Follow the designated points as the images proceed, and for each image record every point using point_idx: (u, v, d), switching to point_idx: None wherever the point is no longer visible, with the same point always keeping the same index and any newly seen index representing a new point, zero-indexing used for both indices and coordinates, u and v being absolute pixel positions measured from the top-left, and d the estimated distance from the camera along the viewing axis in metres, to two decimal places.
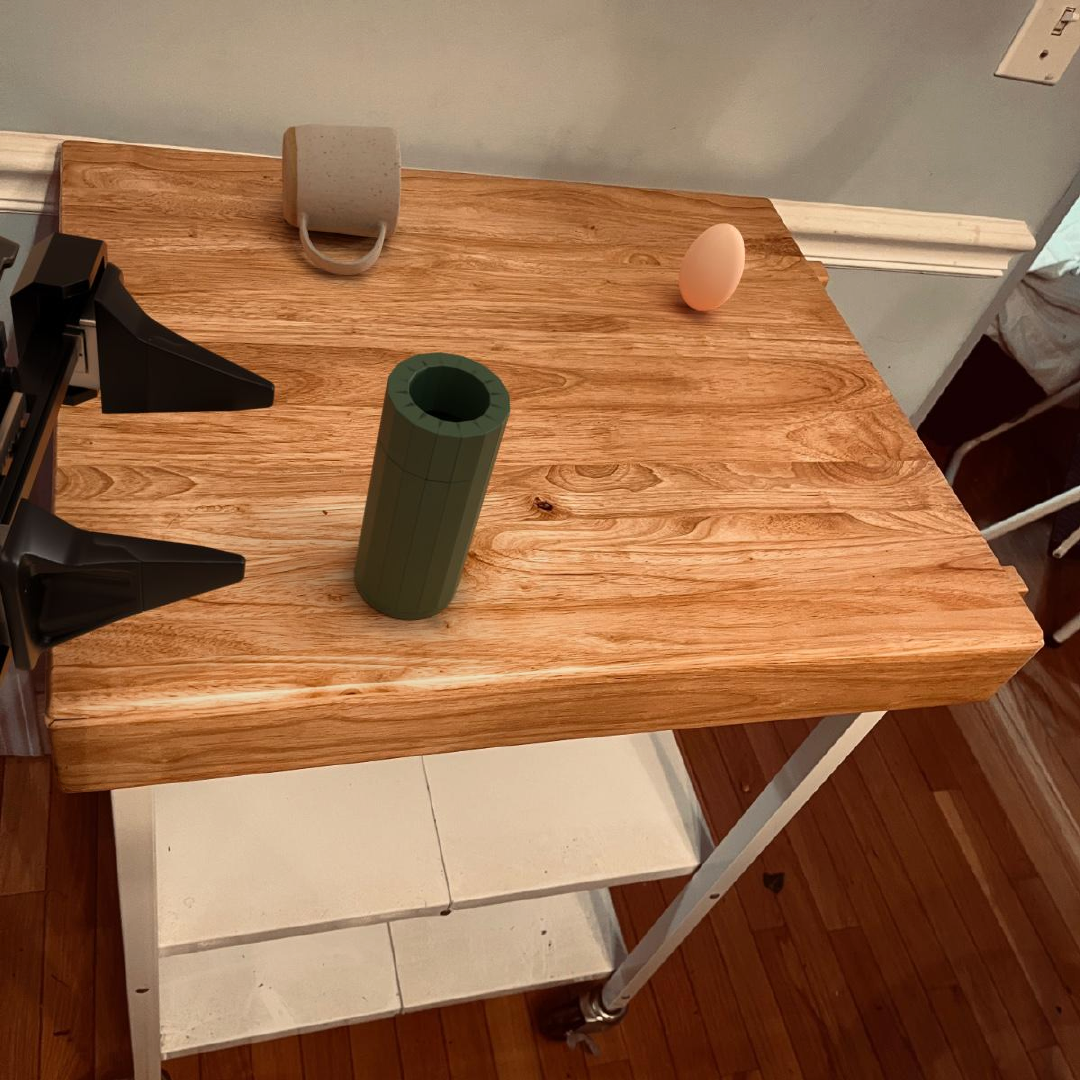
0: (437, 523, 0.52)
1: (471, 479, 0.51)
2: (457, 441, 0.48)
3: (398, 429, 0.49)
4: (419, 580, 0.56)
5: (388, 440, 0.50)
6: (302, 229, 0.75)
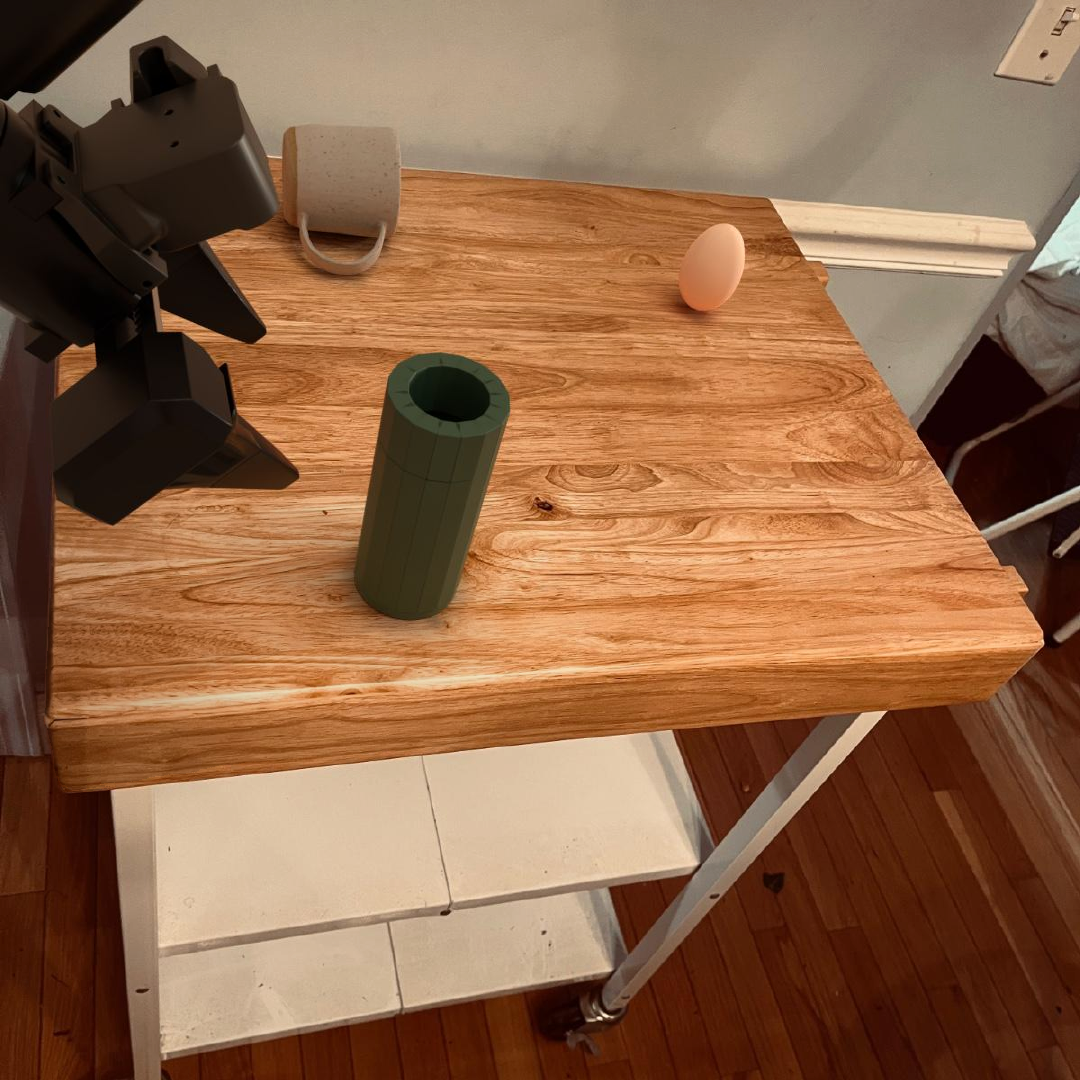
0: (437, 523, 0.52)
1: (471, 479, 0.51)
2: (457, 441, 0.48)
3: (398, 429, 0.49)
4: (419, 580, 0.56)
5: (388, 440, 0.50)
6: (302, 229, 0.75)
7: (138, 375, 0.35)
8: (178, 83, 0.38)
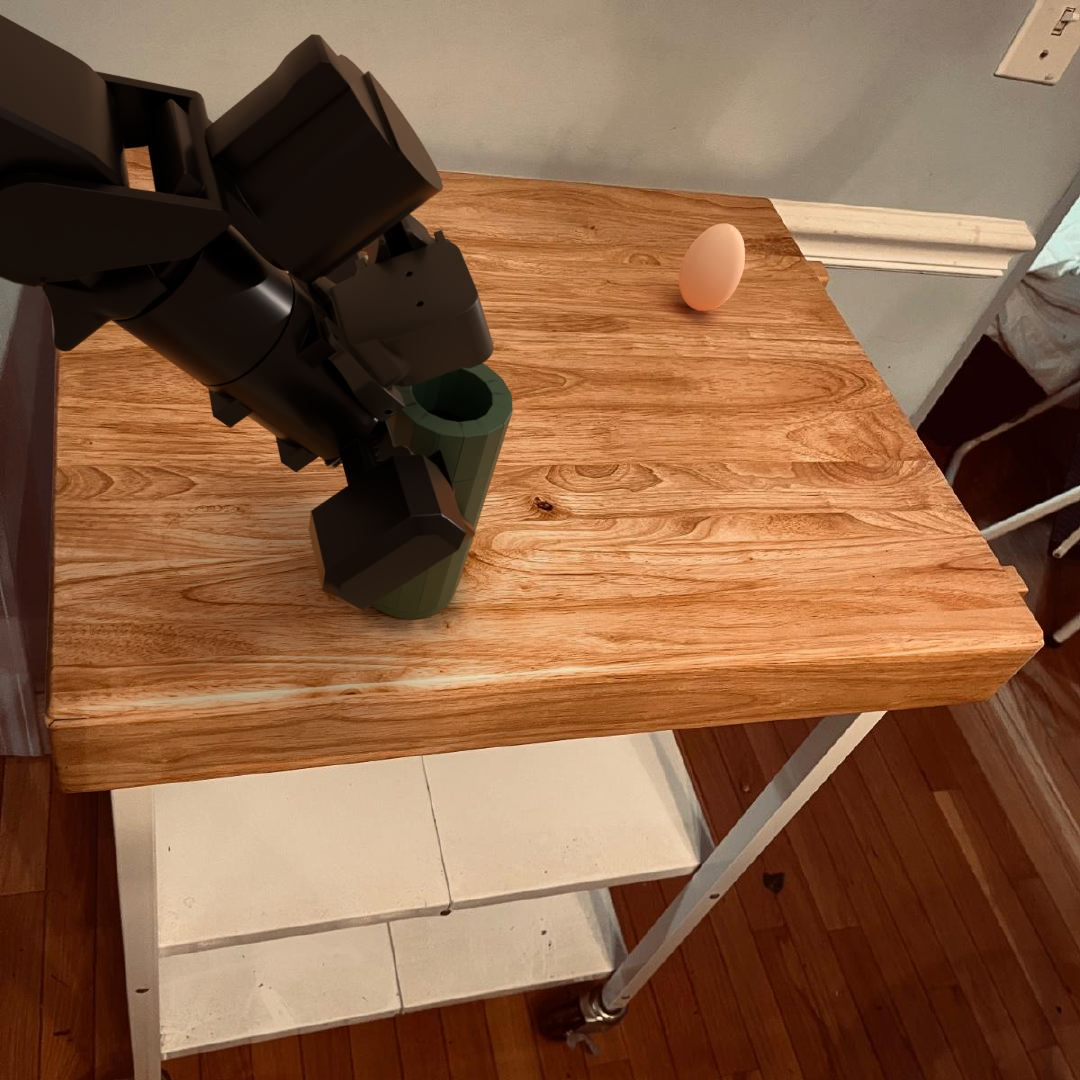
0: None
1: (473, 479, 0.51)
2: (460, 441, 0.48)
3: (400, 428, 0.49)
4: (420, 580, 0.56)
5: None
6: None
7: (396, 493, 0.43)
8: (412, 247, 0.46)
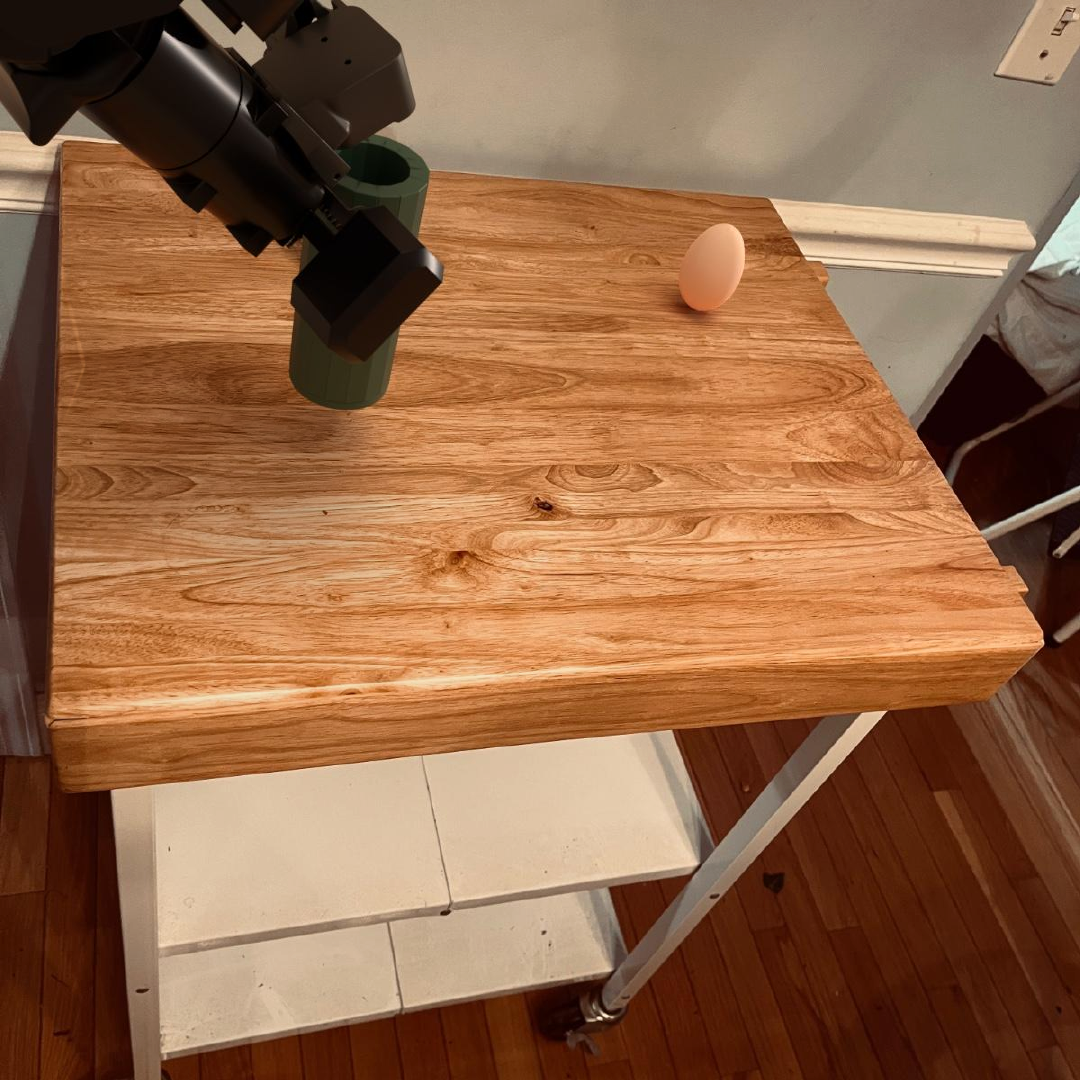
0: None
1: None
2: (397, 201, 0.52)
3: None
4: (366, 363, 0.59)
5: (326, 218, 0.53)
6: None
7: (377, 239, 0.46)
8: (317, 16, 0.48)
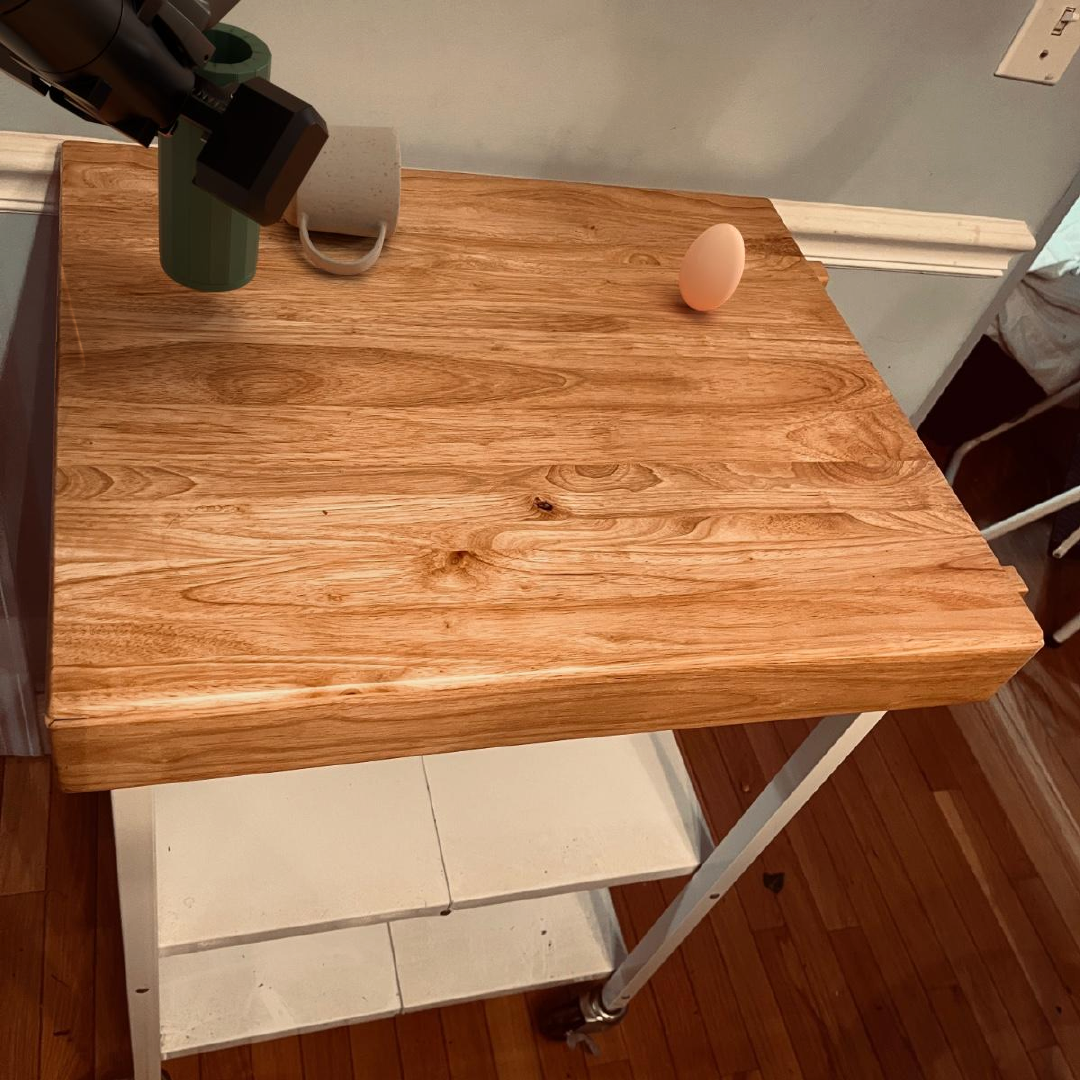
0: None
1: None
2: (253, 75, 0.57)
3: None
4: (242, 240, 0.64)
5: None
6: (302, 229, 0.75)
7: (268, 105, 0.52)
8: None
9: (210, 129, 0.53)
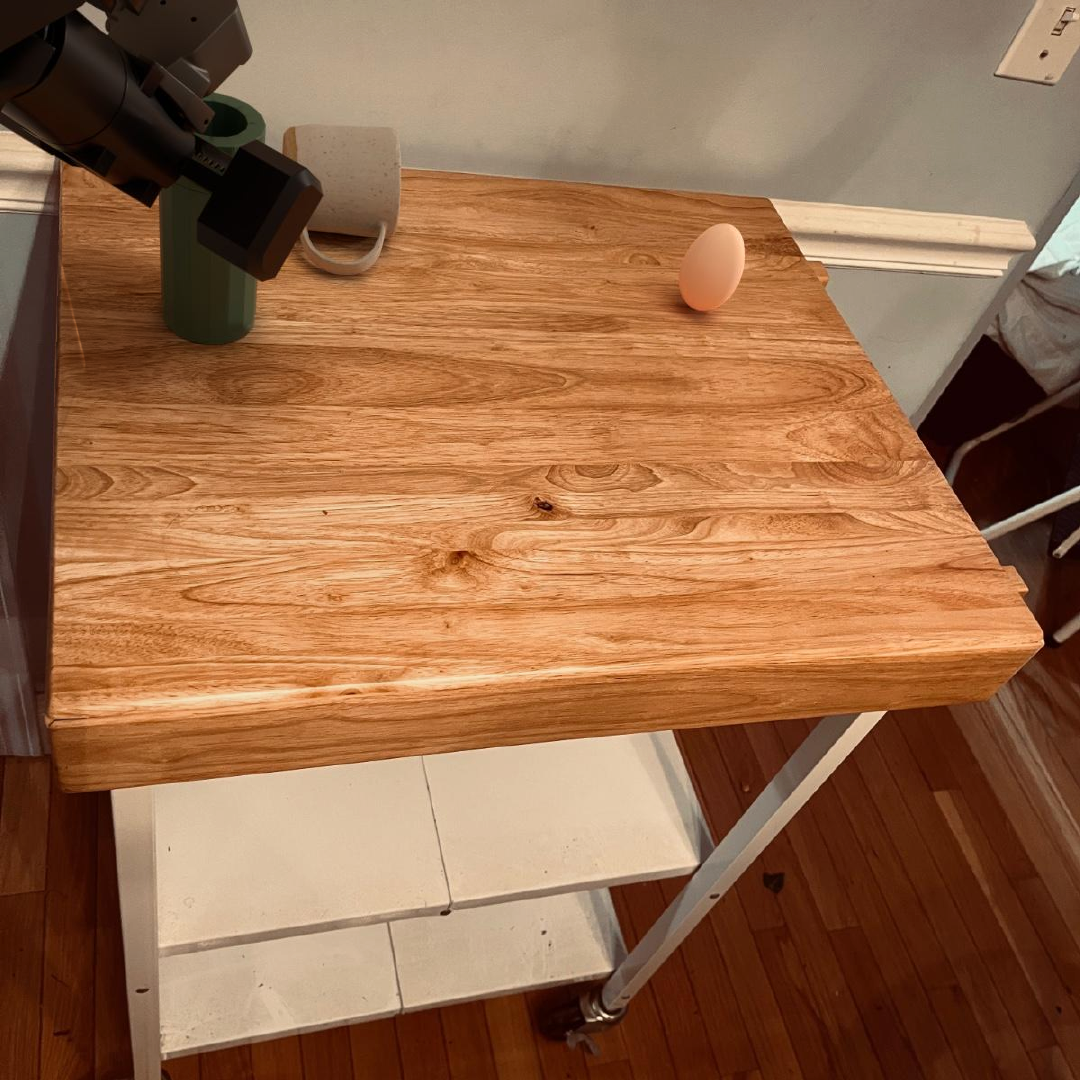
0: None
1: None
2: None
3: (196, 159, 0.59)
4: (240, 296, 0.67)
5: None
6: None
7: (265, 169, 0.54)
8: None
9: (210, 190, 0.56)
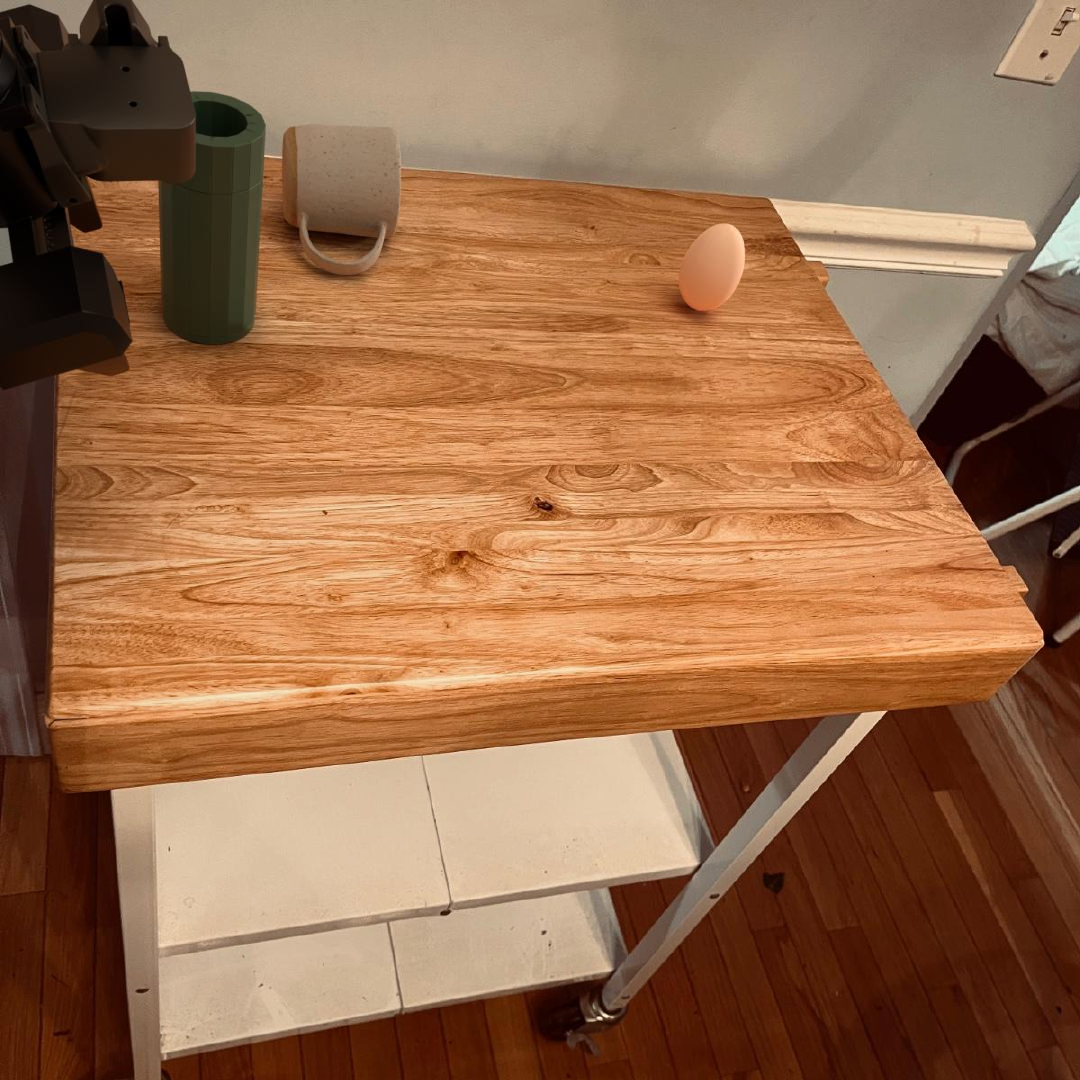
0: (245, 233, 0.64)
1: (259, 182, 0.62)
2: (248, 147, 0.60)
3: (196, 159, 0.59)
4: (240, 296, 0.67)
5: None
6: (302, 229, 0.75)
7: (69, 284, 0.43)
8: (133, 43, 0.45)
9: (13, 261, 0.44)
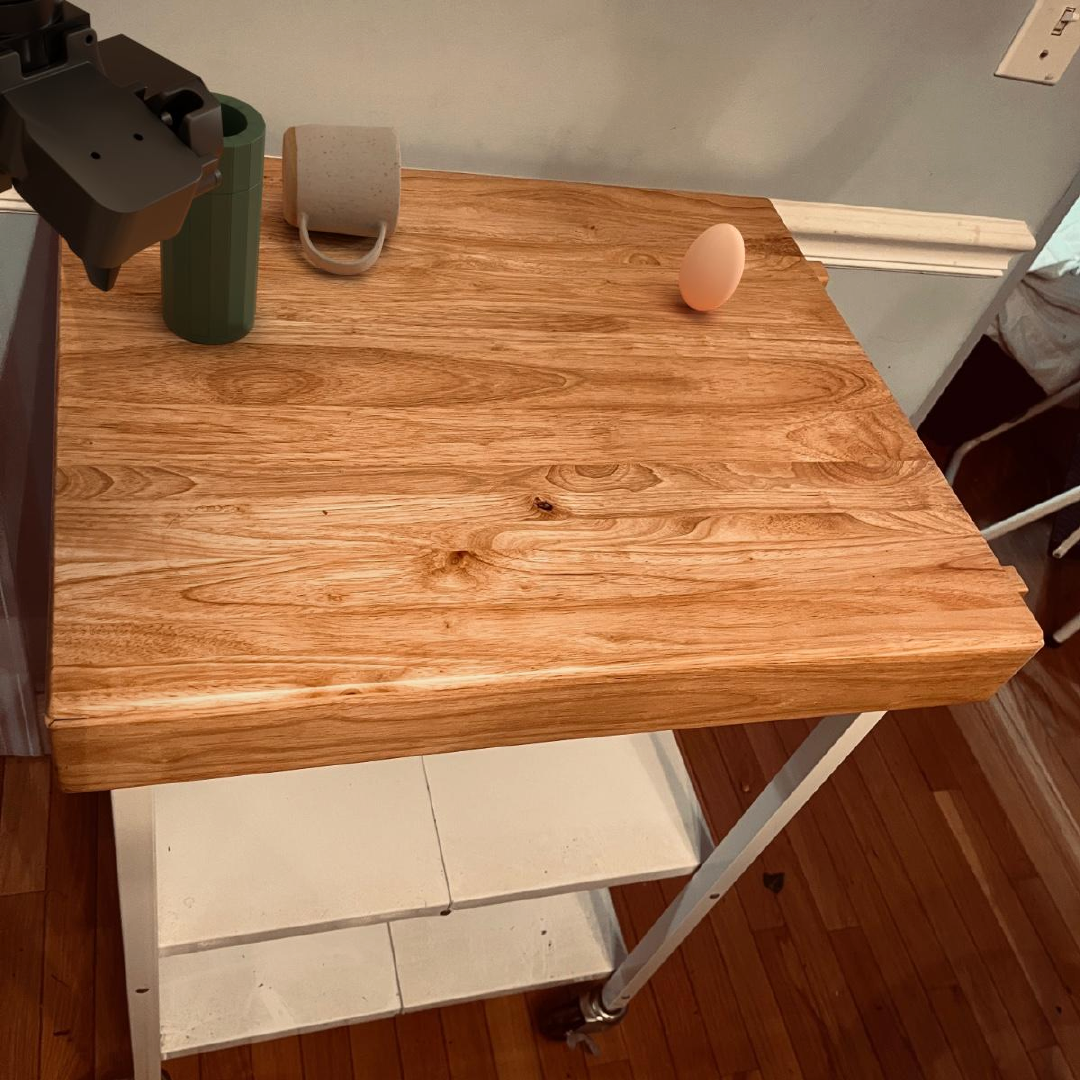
0: (245, 233, 0.64)
1: (259, 182, 0.62)
2: (248, 147, 0.60)
3: None
4: (240, 296, 0.67)
5: None
6: (302, 229, 0.75)
7: None
8: (178, 133, 0.39)
9: None
